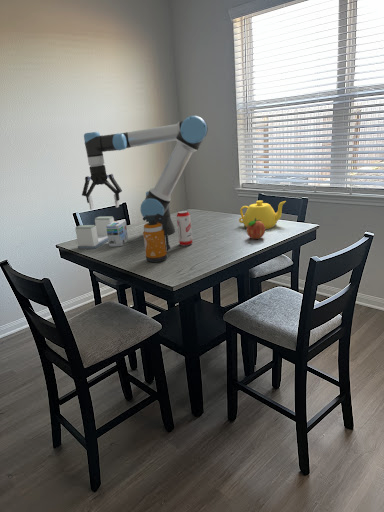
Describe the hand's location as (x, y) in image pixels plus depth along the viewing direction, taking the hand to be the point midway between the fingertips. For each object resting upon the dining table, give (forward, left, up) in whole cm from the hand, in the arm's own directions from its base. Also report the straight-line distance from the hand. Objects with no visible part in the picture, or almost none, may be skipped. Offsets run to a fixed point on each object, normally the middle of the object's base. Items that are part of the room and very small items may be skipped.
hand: (104, 208), depth 197 cm
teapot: (-74, -31, -18) cm, 83 cm away
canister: (-37, +24, -18) cm, 48 cm away
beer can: (-42, +2, -18) cm, 46 cm away
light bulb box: (-6, +1, -18) cm, 19 cm away
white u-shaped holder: (+8, -1, -18) cm, 20 cm away
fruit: (-74, -8, -18) cm, 77 cm away
